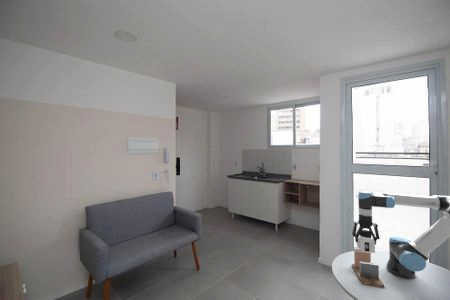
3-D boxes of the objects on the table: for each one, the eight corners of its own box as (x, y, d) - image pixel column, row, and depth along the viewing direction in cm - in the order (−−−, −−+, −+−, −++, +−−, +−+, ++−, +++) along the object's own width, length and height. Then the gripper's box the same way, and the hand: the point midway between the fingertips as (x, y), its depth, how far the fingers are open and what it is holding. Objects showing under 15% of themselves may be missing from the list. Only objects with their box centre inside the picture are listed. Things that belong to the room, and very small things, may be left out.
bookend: (377, 277, 130) (377, 263, 131) (378, 279, 129) (378, 265, 129) (359, 275, 133) (359, 261, 134) (360, 276, 132) (360, 263, 132)
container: (375, 253, 132) (374, 233, 132) (362, 252, 133) (361, 232, 133) (369, 247, 139) (368, 228, 139) (356, 246, 141) (356, 228, 141)
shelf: (371, 268, 143) (371, 266, 143) (384, 287, 123) (384, 285, 123) (351, 265, 147) (351, 263, 147) (361, 284, 127) (361, 281, 127)
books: (369, 266, 143) (369, 250, 143) (370, 268, 141) (370, 251, 141) (354, 264, 146) (353, 248, 146) (355, 266, 143) (354, 249, 144)
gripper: (380, 214, 137) (381, 247, 137) (346, 211, 143) (346, 243, 143) (386, 217, 130) (386, 252, 130) (349, 214, 136) (349, 248, 136)
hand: (365, 247), depth 136 cm, fingers closed on container, 8 cm apart
